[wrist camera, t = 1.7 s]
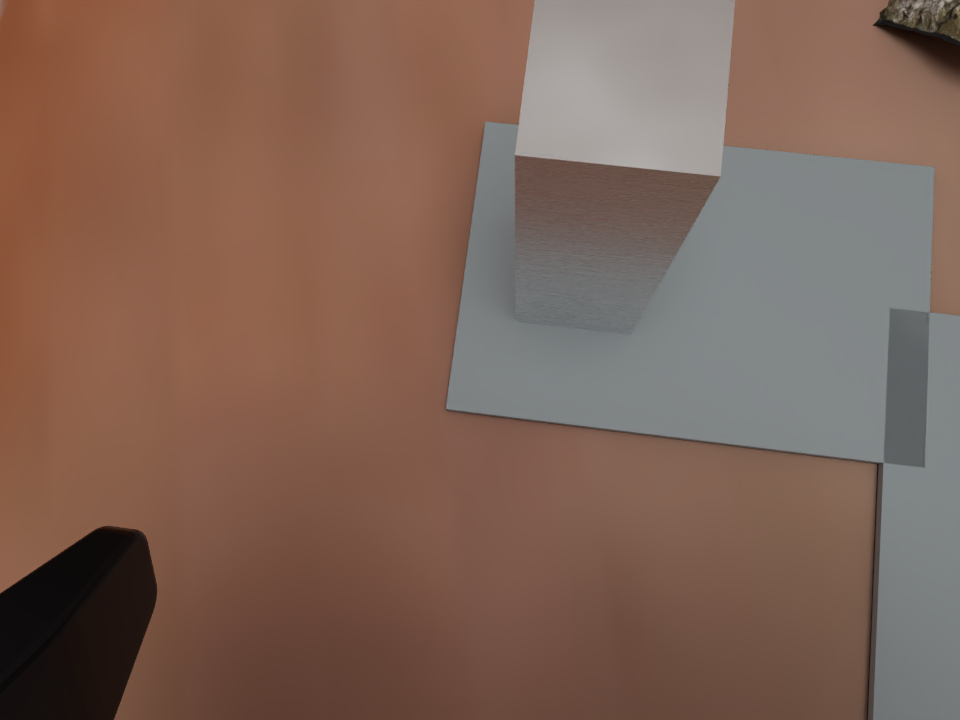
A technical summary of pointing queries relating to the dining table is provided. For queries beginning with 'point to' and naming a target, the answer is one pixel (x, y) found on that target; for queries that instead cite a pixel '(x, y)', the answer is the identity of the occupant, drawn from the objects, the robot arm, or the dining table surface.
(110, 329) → the dining table surface
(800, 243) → the pull board
